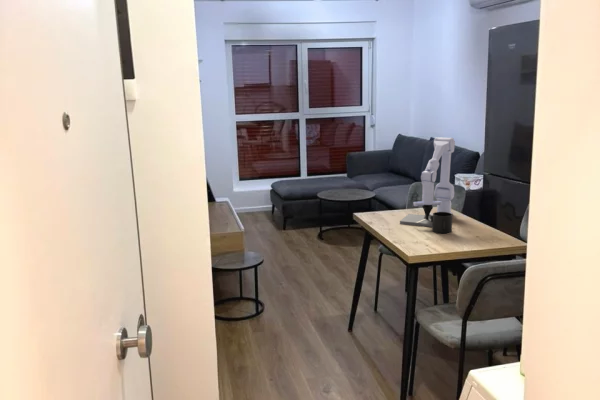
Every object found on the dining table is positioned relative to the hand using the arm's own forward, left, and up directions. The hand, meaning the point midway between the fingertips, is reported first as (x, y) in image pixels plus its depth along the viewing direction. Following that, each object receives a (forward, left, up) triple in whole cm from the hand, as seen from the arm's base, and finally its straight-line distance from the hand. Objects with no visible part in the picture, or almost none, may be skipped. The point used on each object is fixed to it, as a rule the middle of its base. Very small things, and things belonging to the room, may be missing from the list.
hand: (427, 218), depth 285 cm
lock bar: (-2, +1, 0) cm, 2 cm away
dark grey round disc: (-6, -1, -1) cm, 7 cm away
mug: (+12, +11, -3) cm, 16 cm away
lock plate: (-5, -2, -3) cm, 6 cm away
